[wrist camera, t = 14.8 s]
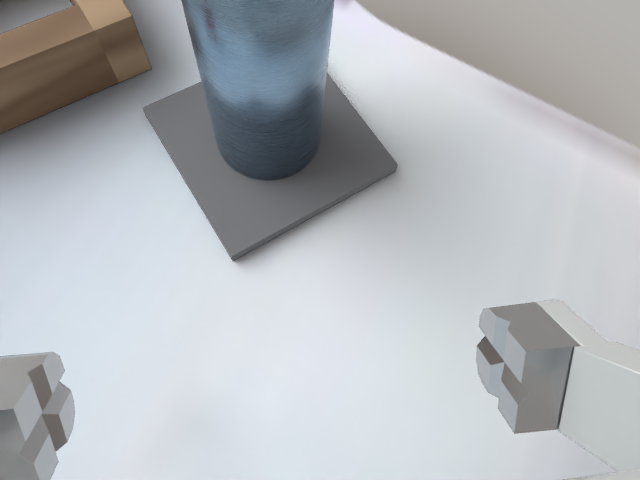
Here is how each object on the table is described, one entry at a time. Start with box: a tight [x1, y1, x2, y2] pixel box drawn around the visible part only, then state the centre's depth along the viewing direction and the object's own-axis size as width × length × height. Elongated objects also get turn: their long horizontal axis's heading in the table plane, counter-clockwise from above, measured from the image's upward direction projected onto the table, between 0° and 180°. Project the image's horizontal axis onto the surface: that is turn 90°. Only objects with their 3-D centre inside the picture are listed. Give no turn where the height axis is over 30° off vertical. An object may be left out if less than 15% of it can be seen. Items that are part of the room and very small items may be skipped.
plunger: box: [182, 0, 334, 181], centre depth 18 cm, size 6×6×14 cm
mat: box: [143, 74, 398, 261], centre depth 25 cm, size 9×9×1 cm
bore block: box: [0, 0, 152, 133], centre depth 25 cm, size 10×10×4 cm
